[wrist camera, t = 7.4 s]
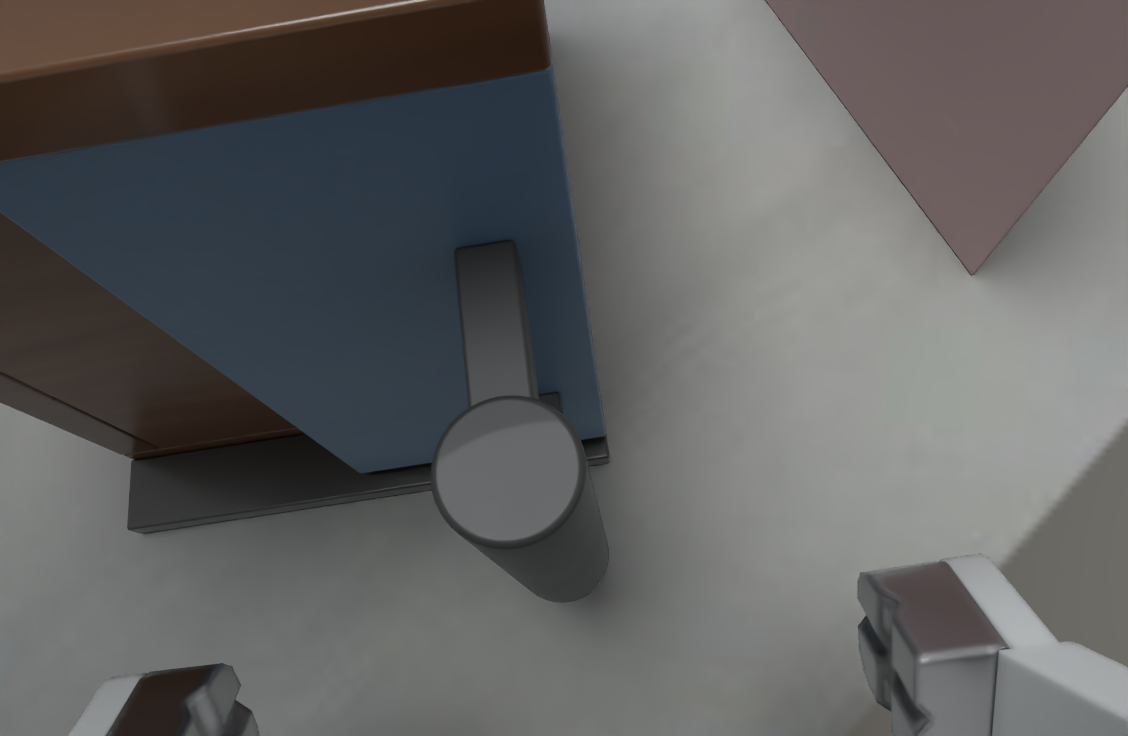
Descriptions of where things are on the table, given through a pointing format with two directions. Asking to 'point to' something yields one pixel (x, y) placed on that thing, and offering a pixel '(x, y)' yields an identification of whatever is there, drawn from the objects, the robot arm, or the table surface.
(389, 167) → the cabinet door
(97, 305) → the cabinet
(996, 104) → the greeting card
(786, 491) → the table surface
